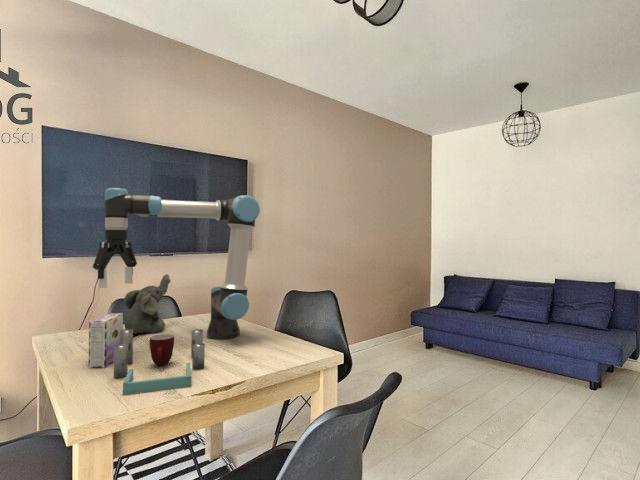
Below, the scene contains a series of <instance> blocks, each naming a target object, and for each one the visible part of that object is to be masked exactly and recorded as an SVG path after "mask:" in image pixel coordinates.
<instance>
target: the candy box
mask: <svg viewBox="0 0 640 480" xmlns="http://www.w3.org/2000/svg"><path fill="white" fill-rule="evenodd" d="M88 323H89V326H88V330H89V331H88V333H89V334H88V368H89V369H93V368H94V369H104V368H107V367H108V366H110V365H111V364H114V346H115V345H118V344H120V331H121V330H124V313H123V312H118V313H112V312H111V313H107V314H104V315H101V316H99V317H97V318H94V319H92V320H89V321H88Z"/></svg>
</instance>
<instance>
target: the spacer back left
mask: <svg viewBox="0 0 640 480" xmlns="http://www.w3.org/2000/svg"><path fill="white" fill-rule="evenodd" d="M203 334H204V333H203V329H201V328H198V329H197V328H196V329H192V330H191V337H190V338H191V343H190V345H191V346H190V347H191V351H190V355H191V356H190V357H191V358H192V345H193V344H197V343H203V336H204V335H203Z"/></svg>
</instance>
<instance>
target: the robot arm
mask: <svg viewBox="0 0 640 480" xmlns="http://www.w3.org/2000/svg"><path fill="white" fill-rule="evenodd" d="M128 192H129V191H128V190H127V189H126V188H120V187H109V188H106V189H105V192H104V228H105V230H104V240H106V241H102V242H99V248H98V252H97V254H96V257H95V259H94V261H93V264H92V269H94V271H95V270H96V271H97V279H98V289H107V288H108V270H107V269H106V268H107V267H108V265H109V264H110V262H111V259H112V258H113V257H114V255H119V256H120V258H121V259H122V261H123V262H124V264H125V267H124V284H126V285H127V284H130V285H131V284H133V274H134V267H136V266H137V264H138V262H137V259H136V257H135V253H134V249H133V244H132V242H131V241H126V240H128V236H129V235H128V234H129V233H128V230H127V229H128V227H129V226H128V225H129V222H128V221H129V220H128V218H129V217H128V215H136V216H137V217H140V218H147V217H148V218H151V217H153V218H154V217H155V218H156V217H157V218H186V219H188V218H190V219H191V218H194V219H215V220H216V221H219V222H221V221H223V222H227V226H229V228H230V232H229V233H230V234H229V235H230V236H229V241H228V242H229V244H228V250H227V251H228V253H227V260H226V269H225V278H224V283H223V284H222V285H221V286H213V287H212V288H211V291H210V321H209V324H208V327H207V330H206V338H208V339H211V340H228V339H234V338H236V337H239V336H240V335H241V329H240V326H239V323H238V320H239V319H241V318H243V317H244V316H246V314H247V313H248V311H249V308H250V301H249V299H248V297H247V296H248V287H247V286H246V284H245V283H246V274H247V265H248V257H249V249H250V240H251V239H250V238H251V231H252V230H253V229H255V226H256V220H257V218H258V216H259V215H260V212H261V210H260V204H259V203H258V201H257V200H256V198H255V197H253V196H251V195H244V194H243V195H238V196H236V197H234V198H230V199H223V200H222V199H217V200H216V201H196V200H178V199H177V200H174V199H162V198H161V196H156V195H141V194H140V195H139V194H138V195H137V194H130V193H128Z"/></svg>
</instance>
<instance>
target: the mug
mask: <svg viewBox="0 0 640 480" xmlns="http://www.w3.org/2000/svg"><path fill="white" fill-rule="evenodd" d="M174 347H175V335H174V334H169V333H167V334H166V333H163V334H162V333H161V334H155V335H152V336H150V337H149V351H150V356H151V360H152V362H153V364H154V365H155V367H157V368H158V367H159V368H161V367H166V366H168V365H169V363H170V361H171V359H172V357H173V353H174Z"/></svg>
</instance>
